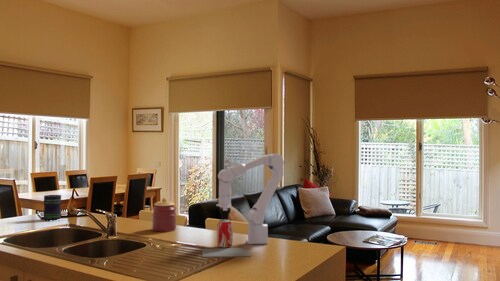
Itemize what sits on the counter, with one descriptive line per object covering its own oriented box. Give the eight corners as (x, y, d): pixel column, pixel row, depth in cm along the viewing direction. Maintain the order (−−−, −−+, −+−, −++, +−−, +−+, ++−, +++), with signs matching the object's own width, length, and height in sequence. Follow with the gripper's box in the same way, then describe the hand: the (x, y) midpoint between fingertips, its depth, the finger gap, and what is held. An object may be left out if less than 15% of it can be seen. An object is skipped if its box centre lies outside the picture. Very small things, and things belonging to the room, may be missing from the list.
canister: (179, 230, 230) (180, 198, 230) (157, 233, 222) (157, 199, 223) (170, 226, 240) (170, 195, 241) (148, 229, 233) (148, 197, 234)
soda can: (226, 249, 188) (226, 222, 188) (213, 247, 191) (214, 220, 192) (235, 246, 194) (235, 220, 194) (223, 244, 197) (223, 218, 198)
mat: (247, 248, 189) (247, 248, 189) (250, 256, 175) (250, 255, 175) (202, 249, 187) (202, 248, 187) (202, 257, 173) (202, 256, 173)
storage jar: (39, 220, 256) (40, 196, 256) (49, 218, 265) (50, 194, 266) (54, 221, 254) (55, 196, 254) (64, 218, 264) (64, 195, 264)
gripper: (216, 193, 206) (215, 221, 205) (216, 196, 191) (216, 226, 191) (230, 193, 206) (230, 221, 206) (232, 196, 192) (231, 226, 191)
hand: (224, 223), depth 198 cm, fingers closed
